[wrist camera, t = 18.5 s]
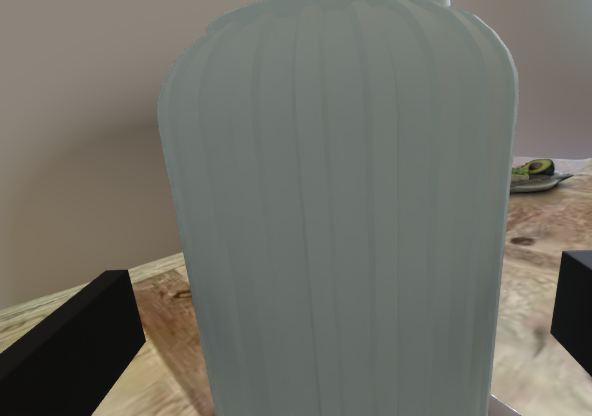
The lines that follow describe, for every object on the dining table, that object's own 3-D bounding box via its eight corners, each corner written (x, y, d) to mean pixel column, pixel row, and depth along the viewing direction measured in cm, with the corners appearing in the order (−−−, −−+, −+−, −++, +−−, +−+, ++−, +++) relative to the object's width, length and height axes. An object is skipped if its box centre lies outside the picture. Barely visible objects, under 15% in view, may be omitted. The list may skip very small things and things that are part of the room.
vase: (190, 537, 17) (61, 38, 11) (315, 380, 26) (287, 54, 19) (436, 782, 11) (499, -138, 4) (492, 460, 19) (540, 8, 13)
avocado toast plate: (547, 202, 63) (551, 177, 62) (450, 189, 76) (451, 168, 75) (577, 180, 75) (580, 158, 73) (488, 172, 88) (489, 153, 86)
